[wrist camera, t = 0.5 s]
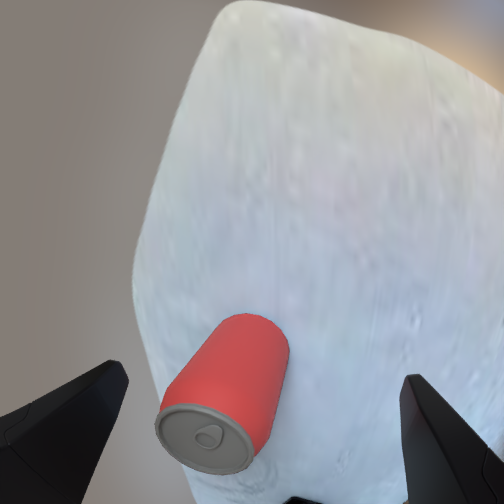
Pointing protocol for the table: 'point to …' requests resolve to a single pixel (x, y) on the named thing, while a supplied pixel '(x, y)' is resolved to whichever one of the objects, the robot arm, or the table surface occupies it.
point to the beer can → (225, 397)
